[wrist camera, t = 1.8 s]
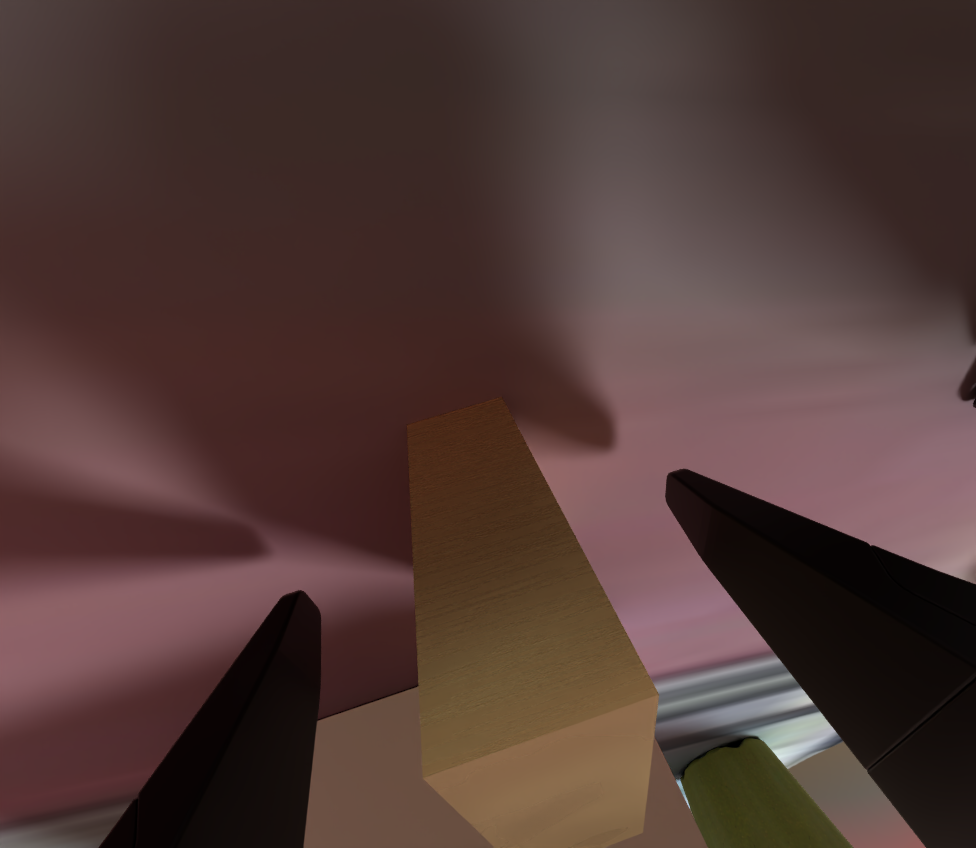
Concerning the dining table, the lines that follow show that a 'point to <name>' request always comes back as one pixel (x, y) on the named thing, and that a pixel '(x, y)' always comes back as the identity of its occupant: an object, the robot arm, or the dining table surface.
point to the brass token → (519, 648)
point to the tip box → (430, 789)
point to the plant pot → (754, 802)
